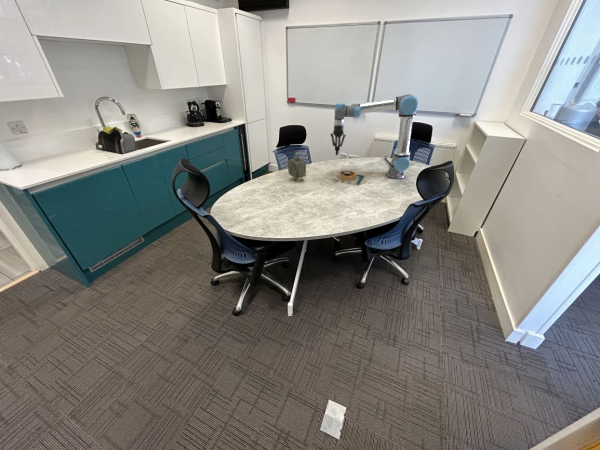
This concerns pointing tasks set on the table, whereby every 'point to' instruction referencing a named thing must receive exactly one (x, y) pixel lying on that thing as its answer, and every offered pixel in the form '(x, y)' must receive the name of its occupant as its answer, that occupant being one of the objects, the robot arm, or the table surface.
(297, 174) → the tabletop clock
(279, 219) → the table surface
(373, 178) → the table surface
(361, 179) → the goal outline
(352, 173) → the bowl
